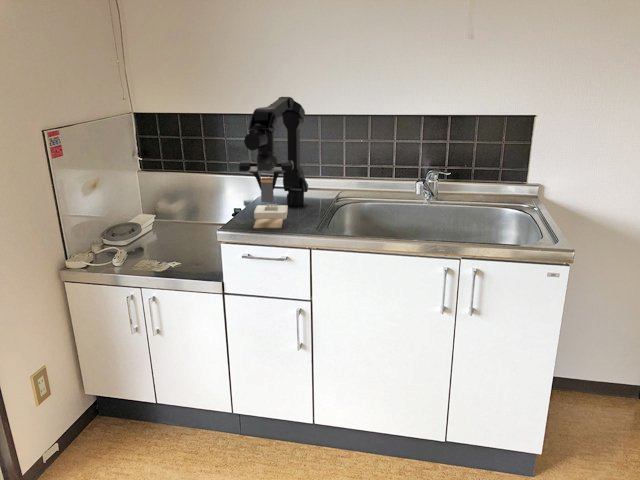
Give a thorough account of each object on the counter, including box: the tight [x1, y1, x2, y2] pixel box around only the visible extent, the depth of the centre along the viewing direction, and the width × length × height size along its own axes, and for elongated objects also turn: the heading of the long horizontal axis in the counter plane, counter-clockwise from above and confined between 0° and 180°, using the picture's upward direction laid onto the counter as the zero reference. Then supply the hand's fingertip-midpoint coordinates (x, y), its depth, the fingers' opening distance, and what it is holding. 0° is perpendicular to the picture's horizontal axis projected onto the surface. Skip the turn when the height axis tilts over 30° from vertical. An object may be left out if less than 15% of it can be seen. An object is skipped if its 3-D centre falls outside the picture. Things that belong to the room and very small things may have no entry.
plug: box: [260, 177, 275, 203], centre depth 192 cm, size 4×4×8 cm
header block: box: [253, 203, 289, 220], centre depth 206 cm, size 12×10×3 cm
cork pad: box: [252, 219, 284, 229], centre depth 196 cm, size 10×10×1 cm
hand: (267, 189), depth 192 cm, fingers closed on plug, 4 cm apart
